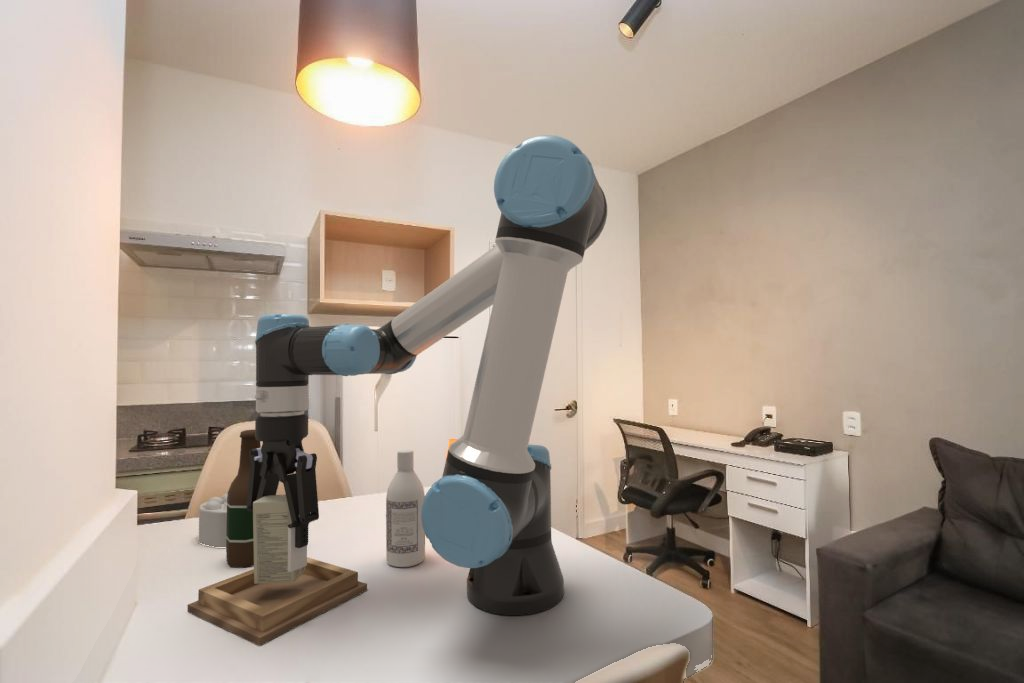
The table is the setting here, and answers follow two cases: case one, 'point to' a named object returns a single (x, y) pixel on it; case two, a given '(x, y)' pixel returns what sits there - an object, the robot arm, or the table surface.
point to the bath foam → (404, 515)
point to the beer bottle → (241, 509)
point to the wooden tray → (275, 600)
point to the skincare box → (272, 540)
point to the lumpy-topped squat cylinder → (213, 521)
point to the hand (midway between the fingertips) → (281, 562)
